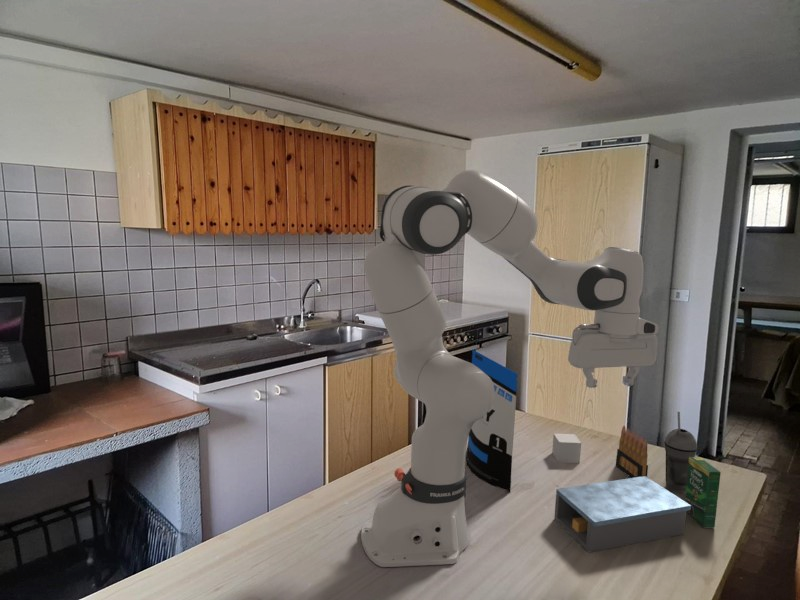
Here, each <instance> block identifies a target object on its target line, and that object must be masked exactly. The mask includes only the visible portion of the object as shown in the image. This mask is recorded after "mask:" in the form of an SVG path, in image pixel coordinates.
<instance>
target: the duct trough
mask: <svg viewBox="0 0 800 600" xmlns="http://www.w3.org/2000/svg"><path fill="white" fill-rule="evenodd" d="M553 516H554V517H553V519H554V521H556V523H557V524H559V526H560V527H562V528H563V529H564V530H565V531H566V532H567V533H568V534H569V535H570V536H571V537H572V538H573V539H574V540H575V541H577V543H579V545H580V546H582V548H583V549H585V550H586V551H587V552H588V553H593V552H598V551H602V550H607V549H613V548H619V547H623V546H628V545H633V544H638V543H644V542H649V541H655V540H660V539H664V538H670V537H675V536H681V535H684V533H685V524H686V517H687V511H682V512H676V513H670V514H665V515H659V516H653V517H648V518H642V519H636V520H631V521H625V522H619V523H614V524H608V525H602V526H597V527H594V526H593V525H592V524H591V523H590V522H588V528H587V531H584V532H577V531H576V530H575V529H574V528H573V527H572V523H573V518H579V517H583V516H582V515H580V514H579V513H578V512H577V511H576V510H575V509H574V508H572V507H571V506H570V505H569V504H568V503H567V502H566V501H564V500H563V499H562V498H561V497H560V496H559V495H558V494H555V504H554V515H553Z"/></svg>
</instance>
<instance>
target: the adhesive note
mask: <svg viewBox="0 0 800 600" xmlns="http://www.w3.org/2000/svg"><path fill="white" fill-rule="evenodd" d="M552 439H553V440H552V449H551V450H552V451H551V453H552V455H553V457H554V459H555V460H556V462H557V463H565V464H566V463H567V464H568V463H569V464H580V463H581V450H582V442H581V441H580V439H579V438H578V437H577V435H576V434H575V433H573V434H572V433H553V438H552Z"/></svg>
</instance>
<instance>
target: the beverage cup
mask: <svg viewBox="0 0 800 600" xmlns="http://www.w3.org/2000/svg"><path fill="white" fill-rule="evenodd" d="M663 443H664V449H665V489H666V490H668V491H669V492H671V493H676V494H686V486H687V475H688V463H689V457H696V454H697V450H698V444H697V440H696V437H695V436H694V435H693V433H691V432H690V431H688V430H687V429H683V428H681V412H680V411H677V428H676V429H675V428H674V429H672V430H670V431H669V432H668V433H667V435H666V437H665V439H664V441H663Z"/></svg>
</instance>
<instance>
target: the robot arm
mask: <svg viewBox="0 0 800 600" xmlns="http://www.w3.org/2000/svg"><path fill="white" fill-rule="evenodd" d="M525 201H526V200H524V199H522V198H521V197H520V196H519V195H517V194H516V193H515V192H513V191H512V190H511V189H510V188H508V187H507V186H505V185H504V184H502V183H501V182H499V181H497V180H496V179H494V178H492V177H490V176H488V175H487V174H486V173H485V174H484V173H482V172H481V171H478V170H474V169H466V170H463V171H461V172H459V173H458V174H457V175H455V176H453V178H451V180H450V181H449V182H448V184H447V185H446V187H445V188H444V189H443V190H438V189H433V188H431V187H427V186H421V185H420V186H419V185H411V184H410V185H402V186H400V187H397V188H396V189H394V190H392V191H391V192H390V193H389V194H388V195H387V196H386V198H385V200H384V201H383V204H382V208H381V212H380V213H381V214H380V218H381V219H380V228H379V237H380V239H381V240H382V242H380V243H378V244H377V245H375V246H373V247H372V249H370V250H369V252H368V253H367V254H366V256H365V258H364V262H363V268H364V272H365V273H364V274H365V277H366V281H367V285H368V288H369V291H370V294H371V296H372V299H373V302H374V304H375V307H376V309H377V312H378V313H379V315H380V318H381V320H382V322H383V325H384V327H385V329H386V331H387V333H388V336H389V338H390V340H391V343H392V345H393V349H394V354H395V359H396V360H395V363H394V367H393V372H394V377H395V379H396V382H397V383H398V384H399V385H400V387H402V389H403V390H404V391H405V392H406V393H407V394H408V395H410V396H411V397H413V398H414V399H416V400H417V401H420V402H422V403H423V404H424V405H425V410H426V414H425V417H424V422H423V424H422V425H420V426H419V427H417V428H416V429H415V430H414V431H413V433H412V436H411V449H410V451H411V452H410V468H409V469H408V471H407V472H406V473H405V471H404V470H403V468H401V467H400V468H397V469H395V471H394V473H393V474H394V477H395V478H396V480H397V481H398V482H400V485H401V486H400V487H399V488H397V489H396V490H395V491H394V492H392V493H391V494H390V495H388V496H387V497H386V498H384V499H383V500H382V501H380V502H378V504H377V505H376V507H375V509H374V512H373V516H372V520H370V521H368V522H365V523H363V525H362V528H361V533H360V540H361V545H362V548H363V550H364V552H365V554H366V555H367V557H368V558H369V559H370V561H372V563H373V564H375V565H377V566H378V567H381V568H395V567H416V566H418V567H419V566H435V565H436V566H440V565H442V566H443V565H454V564H456V563H457V562H458V560H459V557H460V554H461V553H462V552H463V551H464V550H465V549H467V547H468V545H469V543H470V541H471V540H470V539H471V536H470V532H469V529H468V523H467V517H466V516H467V515H466V508H465V504H466V503H465V498H466V496H467V487H468V483H467V480H468V479H467V471H466V452H467V446H468V437H469V432H470V430H471V427H472V426H473V424H474V423H475V422H476V421H477V420H479V419H481V418H482V417H483V416H485V415H486V413H487V412H488V411H489V409H490V408H491V406H492V403H493V400H494V394H495V391H494V385H493V382H492V380H491V379H490V377H489V376H488V375H487V374H485V373H484V372H483V371H482V370H480V369H479V368H478V367H476V366H475V365H474V364H472V362H470V361H466V360H464V359H462V358H459V357H456V356H454V355H453V354H451V353H450V352H449V351H448V350H447V349H446V347H445V346H444V342H443V334H444V332H445V330H446V326H447V319H446V317H445V314H444V312H443V310H442V307H441V304H440V302H439V299H438V296H437V295H436V292H435V289H434V288H433V285H432V282H431V280H430V278H429V276H428V274H427V270H426V264H425V258H426V255H430V256H431V255H433V256H435V255H441V254H444V253H446V252H448V251H450V250H451V249H453V248H454V247H455V246H456V245H457V244H458V243H459V242H460V241H461V239H462V238H463V237H464V236H466V234H467V235H469V236H470V237H471V238H472V239H474V240H475V241H477V242H478V243H479V244H480V245H482V246H483V247H484V248H486V249H488V250H490V251H491V252H493V253H495V254H496V255H499V256H501V257H502V258H503V259H504V260H506V261H507V262H508V263H509V264H510V265H511V266H513V268H515V269H516V270H517V271H519V272H520V273H521V274H522V275H524V276H525V277H526V278H527V279H528V280H529V281H530V283H531V284H532V285H533V287H534V289H535V291H536V293H537V294H538V296H539V297H540V299H542V300H543V301H545V302H547V303H548V304H552V305H562V306H567V307H570V308H575V309H579V310H585V311H594V319H593V323H590V324H585V323H581V324H579V325H578V326H577V327H575V328H574V329H573V331H572V337H571V342H570V345H569V346H570V347H569V351H568V355H567V356H568V357H567V361H568V363H569V365H571V366H572V367H574V368H577V369H581V370H582V373H583V375H584V377H585V386H586V387H587V388H591V389H592V388H593V389H594V388H597V386H598V385H597V384H598V379H596V378H594V376H593V373H594V372H595V369H599V368H603V369H604V368H621V367H623V368H625V367H627V369H629V370H628V372H627V373H626V375H623V376H622V385H624V386H630V387H631V386H634V383H635V379H636V376H637V375H638V374H639V372H640V370H641V369H640V368H641V367H647V366H648V367H649V366H653V365H654V364H655V362H656V360H657V357H658V346H659V341H658V336H657V335H656V334H658V332H659V325H658V323H655V322H652V321H650V320H648V319H644V318H642V317H640V314H641V308H640V298H641V295H642V293H643V287H644V274H645V273H644V272H645V270H644V260H643V257H642V254H640V253H639V252H638V251H636V250H633V249H629V248H623V247H617V246H615V247H613V246H609V247H605V249H604V250H603V252H602V253H601V254H600V255H598V256H596V257H594V258H592V259H590V260H587V261H586V262H581V261H571V260H566V259H560V258H554V257H551V256H548V255H547V254H546V253H545V252H544V251H543V250H541V249H540V248H539V247H538V246H537V245H536V244H535V243H534V242H533V241H534V239H535V238H536V235H537V231H538V227H539V226H538V225H539V224H538V217H537V215H536V213H535V212H534V210H533V208H531V207H530V205H529V204H528V203H527V202H525Z"/></svg>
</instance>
